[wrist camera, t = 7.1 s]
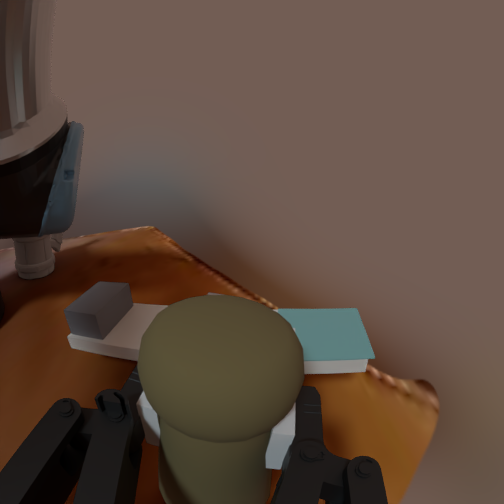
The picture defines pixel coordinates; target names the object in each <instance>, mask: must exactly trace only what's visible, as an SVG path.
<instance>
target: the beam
mask: <svg viewBox="0 0 504 504" xmlns="http://www.w3.org/2000/svg"><path fill="white" fill-rule="evenodd" d="M166 307H168V306H166V305H151V304H138V303H133V301H132V297H131V292H130V287H129V283H117V282H100V281H99V282H97V283H96V284H95V285H94V286H92V287H91V288H90V289H89V290H88V291H86V292H85V293H84V294H83V295H81V296H80V297H79V298H78V299H76V300H75V301H74V302H73V303H72V304H70V305H69V306H68V307H67V308H66V309H64V313H65V316H66V319H67V322H68V325H69V328H70V330H71V334H69V335H68V336H67V338H68V340H69V343H70V345H71V348H74V349H78V350H83V351H87V352H92V353H97V354H101V355H106V356H112V357H117V358H122V359H128V360H134V361H138V357H139V350H140V344H141V338H142V336H143V334H144V333H145V331H146V329H147V328H148V326H149V325H150V324H151V322H152V321H153V319H154V318H155V316H156V315H157V314H158V313H159V312H160V311H162V310H163V309H165V308H166ZM274 311H276V312H278V313H279V314H280V315H281V316H282V317H283V318H285V319H286V320H287V321H288V322H289V323H290V324H291V326H292V328H295V333H296V335H297V337H298V339H299V341H300V343H301V345H302V347H303V355H304V374H328V373H352V372H365V370H366V366H367V361H368V359H374V358H375V356H374V353H373V350H372V347H371V345H370V342H369V340H368V336H367V334H366V331H365V328H364V326H363V323H362V320H361V318H360V315H359V313H358V310H357V308H347V309H346V308H345V309H278V310H274Z"/></svg>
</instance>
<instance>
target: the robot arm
mask: <svg viewBox="0 0 504 504" xmlns="http://www.w3.org/2000/svg"><path fill="white" fill-rule="evenodd" d="M56 1H57V0H0V239H8V238H26V237H38V238H40V237H42V236H43V235H50V234H57V233H62V232H65V231H66V230H68V228H69V227H70V226H71V224H72V222H73V219H74V214H75V206H76V198H77V188H78V179H79V171H80V162H81V154H82V145H83V134H84V132H83V129H84V128H83V125H82V124H81V123H76V122H74V121H72V122H70V123H68V122H67V108H66V104H65V102H64V101H63V100H62V99H61V98H60V97H58V96H56V95H55V94H53V93H51V52H52V37H53V24H54V16H55V7H56ZM3 313H4V303H3V299H2V295H1V292H0V320H1V318H2V316H3ZM293 329H294V331H295V328H293ZM95 401H96V404H97V407H98V409H89V408H81V407H80V405H79V403H78V402H76V401H75V400H73V399H70V398H63V399H60V400H58V401H57V402H55V403H54V404H53V405H52V407H51V408H50V409H49V410H48V412H47V413H46V414H45V415H44V416H43V418H42V419H41V420H40V421H39V423H38V424H37V425H36V426H35V428H34V429H33V430H32V431H31V433H30V434H29V435H28V437H27V438H26V439H25V440H24V442H23V443H22V444H21V446H20V447H19V448H18V449H17V451H16V452H15V453H14V455H13V456H12V457H11V459H10V460H9V461H8V463H7V464H6V465H5V467H4V468H3V469H2V471H1V472H0V504H64V503H65V502H66V500H67V498H68V496H69V495H70V493H71V491H72V490H73V488H74V486H75V485H76V483H77V481H78V480H79V482H78V486H77V490H76V494H75V498H74V502H73V504H134V503H135V496H136V488H137V482H138V475H139V468H140V462H141V456H142V445H141V444H142V442H143V439H144V437H145V439H146V443H149V444H152V445H155V446H159V440H160V416H159V415H158V414H157V413H156V412H155V411H154V410H153V408H152V407H151V405H150V404H149V402H148V400H147V399H146V396H145V393H144V391H143V388H142V385H141V382H140V378H139V374H138V368H137V365H136V367H135V369H134V370H133V373H131V375H130V376H129V379H128V380H127V381H126V383H125V384H124V386H123V388H122V389H121V391H119V390H116V389H107V390H103V391H101V392H100V393H98V394H97V396H96V397H95ZM281 467H282V474H281V476H280V478H279V480H278V482H277V484H276V486H277V487H276V489H275V492H274V495H273V498H272V500H271V503H270V504H318V501H319V498H320V499H323V500H325V504H388V502H387V496H386V491H385V486H384V482H383V477H382V472H381V468H380V466H379V463H378V462H377V461H376V460H375V459H373V458H371V457H368V456H359V457H355V458H354V459H352V460H348V459H345V458H341V457H338V456H336V455H333V454H332V453H330V452H329V451H328V450H327V449H326V447H325V445H324V442H323V429H322V414H321V400H320V395H319V393H318V391H317V390H316V388H315V387H310V386H302V387H301V390H300V392H299V395H298V397H297V399H296V401H295V403H294V406H293V408H292V409H291V410H290V412H289V413H288V414H287V415H286V416H285V417H284V419H282V420H281V421H280V422H279V423H278V424H277V425H276V426H274V427H273V428H272V429H271V434H270V438H269V443H268V447H267V451H266V468H270V469H281Z"/></svg>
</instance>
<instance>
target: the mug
mask: <svg viewBox="0 0 504 504" xmlns="http://www.w3.org/2000/svg"><path fill="white" fill-rule="evenodd" d="M12 239H13V241H14V247H15V255H16V260H15V267H16V270H17V271H18V274H19V276H20V277H21V278H24V279H34V278H41V277H44V276H47V275H48V274H50V273H51V272H53V270H54V263H55V256H54V254H53V252H52V249H53V250H55V251H56V252H59V251H60V247H61V243H62V233H57V234H52V238H51V239H50V235H43V236H42V237H40V238H38V237H26V238H12ZM51 248H52V249H51Z"/></svg>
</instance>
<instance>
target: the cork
mask: <svg viewBox="0 0 504 504" xmlns="http://www.w3.org/2000/svg"><path fill="white" fill-rule="evenodd" d="M137 368H138V374H139V378H140V382H141V385H142V388H143V391H144V393H145V396H146V399H147V400H148V402H149V404H150V405H151V407H152V408H153V410H154V411H155V412H156V413H157V414H158V415H159V416H160V440H159V458H158V476H159V490H160V492H161V494H162V496H163V498H164V500H165V502H166V504H265V503H266V501H267V500H268V498H269V496H270V486H271V475H272V469H270V468H266V451H267V447H268V443H269V438H270V434H271V429H272V428H273V427H274V426H276V425H277V424H278V423H279V422H280V421H281V420H282V419H284V417H285V416H286V415H287V414H288V413H289V412H290V410H291V409H292V408H293V406H294V403H295V401H296V399H297V397H298V395H299V392H300V390H301V387H302V384H303V381H304V355H303V347H302V345H301V343H300V341H299V339H298V337H297V335H296V333H295V331H294V329H293V328H292V326H291V324H290V323H289V322H288V321H287V320H286V319H285V318H283V317H282V316H281V315H280V314H279V313H278V312H276V311H274V310H272V309H270V308H268V307H266V306H264V305H263V304H260V303H258V302H255V301H251V300H248V299H245V298H242V297H235V296H229V295H204V296H198V297H191V298H187V299H184V300H182V301H179V302H176V303H173V304H171V305H169V306H168V307H166V308H165V309H163V310H162V311H160V312H159V313H158V314H157V315H156V316H155V318H154V319H153V321H152V322H151V324H150V325H149V326H148V328H147V329H146V331H145V333H144V334H143V336H142V338H141V344H140V350H139V357H138V364H137Z"/></svg>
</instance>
